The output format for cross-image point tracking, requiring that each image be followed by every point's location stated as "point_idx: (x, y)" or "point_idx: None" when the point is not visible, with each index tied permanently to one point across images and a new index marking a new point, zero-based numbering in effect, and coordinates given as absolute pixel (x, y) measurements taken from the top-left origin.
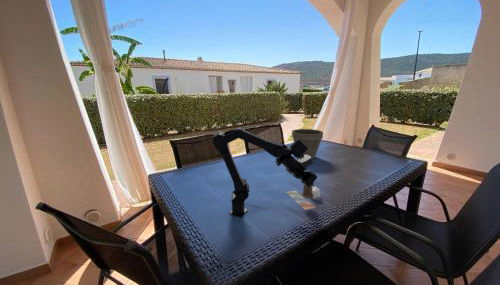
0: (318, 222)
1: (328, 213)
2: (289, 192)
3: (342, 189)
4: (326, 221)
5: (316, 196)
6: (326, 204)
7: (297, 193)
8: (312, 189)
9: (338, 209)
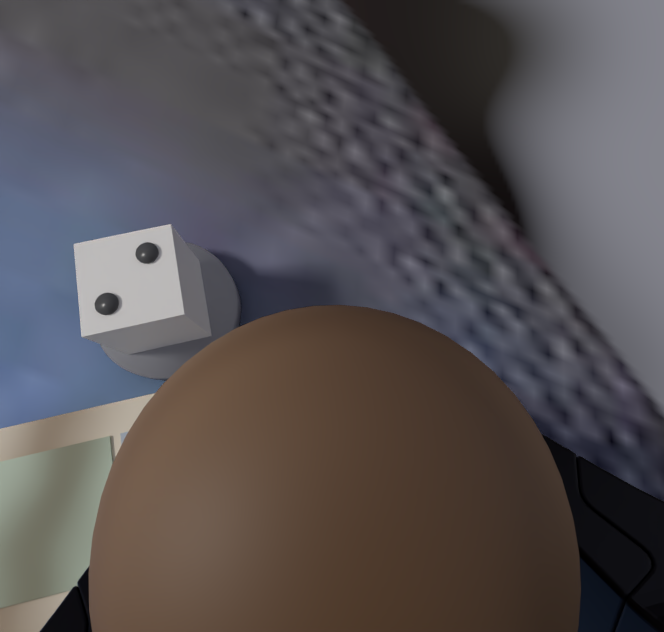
0: (600, 435)
1: (460, 291)
2: (4, 565)
3: (84, 13)
4: (582, 359)
5: (202, 292)
6: (313, 246)
7: (57, 467)
8: (140, 310)
9: (403, 186)
